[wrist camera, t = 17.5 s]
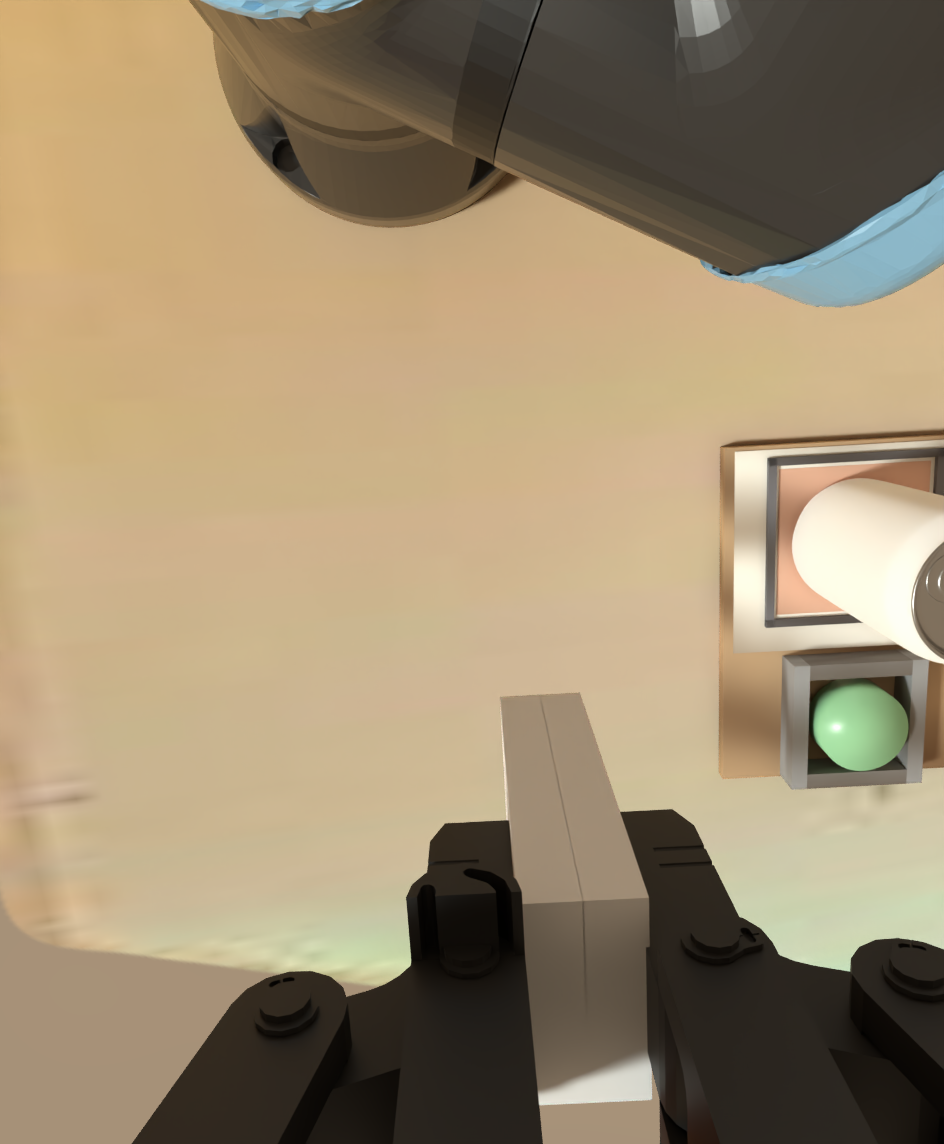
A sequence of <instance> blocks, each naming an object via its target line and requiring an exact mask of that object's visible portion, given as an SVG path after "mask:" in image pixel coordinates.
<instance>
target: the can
mask: <svg viewBox="0 0 944 1144" xmlns="http://www.w3.org/2000/svg"><path fill="white" fill-rule="evenodd" d="M792 554H793V559H794V563H795V566H796V568H797V571H798V573H799V574H800V576H801V578H802V579H803V580H804V582H805V583H806V584H807V585H808V586H809V587H810V588H811V589H812V590H814V591H815V592H816V593H818V594H819V595H820V596H822V597H824V598H825V599H827V600H828V601H830V602H831V603H833V604H834V605H836V606H837V607H839V608H841V609H842V610H844V611H845V612H847V613H849V614H850V615H852V616H853V617H855V618H856V619H858V620H860V621H861V622H863V623H864V624H866V625H868V626H869V627H871V628H872V629H874V630H876V631H877V632H879V633H880V634H882V635H884V636H885V637H887V638H889V639H890V640H892V641H893V642H895V643H897V644H898V645H900V646H902V647H903V648H905V649H907V650H908V651H910V652H912V653H914V654H916V655H918V656H920V657H922V658H925V659H927V660H930V661H933V662H937V663H942V664H944V496H942V495H938V494H934V493H930V492H926V491H922V490H918V489H914V488H910V487H906V486H902V485H898V484H893V483H889V482H885V481H880V480H875V479H868V478H855V479H848V480H844V481H841V482H838V483H835V484H833V485H831V486H829V487H827V488H825V489H824V490H822V491H821V492H819V493H818V494H817V495H815V496H814V497H813V498H812V499H811V500H810V501H809V502H808V504H807V505H806V506H805V508H804V509H803V511H802V513H801V515H800V517H799V519H798V521H797V524H796V527H795V530H794V534H793V539H792Z"/></svg>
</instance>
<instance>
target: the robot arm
mask: <svg viewBox="0 0 944 1144" xmlns="http://www.w3.org/2000/svg"><path fill="white" fill-rule="evenodd" d="M189 1H190V3H191V4H192V5H193V6H194V8H195V9H196V10H197V12H198V13H199V14H200V16H201V17H202V18H203V19H204V21H205V22H206V23H207V25H208V26H209V27H210V29H211V30H212V31H213V40H214V50H215V57H216V63H217V68H218V73H219V77H220V80H221V84H222V87H223V90H224V93H225V96H226V99H227V101H228V104H229V107H230V109H231V111H232V113H233V116H234V118H235V120H236V122H237V124H238V126H239V127H240V129H241V131H242V133H243V134H244V136H245V138H246V139H247V141H248V142H249V144H250V145H251V147H252V148H253V149H254V151H255V152H256V154H257V155H258V156H259V157H260V158H261V160H262V161H263V162H264V163H265V164H266V165H267V166H268V167H269V168H270V169H271V171H272V172H273V173H274V174H275V175H276V176H277V177H278V178H279V179H280V180H281V181H282V182H283V183H284V184H285V185H286V186H288V187H289V188H290V189H291V190H292V191H293V192H295V193H296V194H297V195H298V196H300V197H301V198H303V199H304V200H305V201H307V202H308V203H310V204H312V205H313V206H315V207H317V208H319V209H320V210H322V211H324V212H326V213H328V214H331V215H333V216H335V217H338V218H341V219H343V220H347V221H350V222H353V223H357V224H362V225H367V226H374V227H388V228H392V227H409V226H416V225H421V224H426V223H430V222H433V221H437V220H439V219H442V218H445V217H448V216H450V215H452V214H454V213H457V212H458V211H460V210H462V209H464V208H466V207H468V206H469V205H471V204H472V203H474V202H475V201H477V200H478V199H480V198H481V197H482V196H484V195H485V194H486V193H488V192H489V191H490V190H491V189H492V188H493V187H494V186H495V185H497V183H498V182H499V181H500V180H501V179H502V178H503V177H504V176H505V175H506V174H507V173H510V174H513V175H515V176H517V177H519V178H521V179H524V180H526V181H528V182H530V183H532V184H535V185H537V186H539V187H541V188H543V189H546V190H548V191H550V192H552V193H554V194H557V195H559V196H561V197H563V198H565V199H568V200H570V201H572V202H574V203H577V204H579V205H581V206H583V207H585V208H588V209H590V210H592V211H594V212H596V213H599V214H601V215H603V216H605V217H607V218H610V219H612V220H614V221H616V222H618V223H621V224H623V225H625V226H627V227H629V228H632V229H634V230H636V231H638V232H640V233H643V234H645V235H647V236H649V237H652V238H654V239H656V240H658V241H660V242H663V243H665V244H667V245H669V246H671V247H674V248H676V249H678V250H680V251H682V252H685V253H687V254H689V255H691V256H693V257H696V258H698V259H700V261H701V264H702V265H703V267H704V268H705V269H707V270H708V271H709V272H711V273H712V274H714V275H716V276H718V277H720V278H722V279H725V280H728V281H731V280H734V281H737V282H740V283H753V284H755V285H758V286H760V287H763V288H765V289H768V290H770V291H773V292H775V293H778V294H780V295H783V296H785V297H788V298H790V299H793V300H795V301H798V302H801V303H804V304H807V305H811V306H816V307H818V306H824V307H845V306H856V305H861V304H864V303H867V302H871V301H874V300H877V299H880V298H883V297H885V296H888V295H890V294H892V293H895V292H897V291H899V290H901V289H903V288H905V287H907V286H909V285H911V284H912V283H914V282H916V281H918V280H919V279H921V278H923V277H924V276H926V275H928V274H929V273H931V272H933V271H934V270H935V269H937V268H938V267H940V266H941V265H943V264H944V0H189ZM500 707H501V725H502V744H503V763H504V781H505V800H506V818H507V820H505V821H485V822H466V823H447V824H444V826H443V827H442V828H441V829H440V830H439V832H438V833H437V834H436V835H435V836H434V838H433V839H432V840H431V841H430V849H429V859H428V870H427V873H426V874H424V875H423V876H422V877H421V878H420V879H418V880H417V881H416V882H415V883H413V884H412V886H411V888H410V890H409V893H408V895H407V897H406V901H407V913H408V925H409V937H410V949H411V966H410V967H409V968H408V969H406V970H405V971H404V972H403V973H402V974H401V975H400V976H398V977H397V978H395V979H393V980H392V981H390V982H388V983H387V984H385V985H382V986H379V987H377V988H374V989H372V990H369V991H366V992H362V993H359V994H355V995H352V996H348V997H346V995H345V992H344V989H343V987H342V986H341V985H340V984H339V983H337V982H336V981H335V980H334V979H333V978H331V977H330V976H326V975H323V974H319V973H316V972H312V971H301V972H287V973H283V974H280V975H276V976H272V977H269V978H266V979H264V980H263V981H261V982H259V983H257V984H255V985H254V986H252V987H250V988H248V989H247V990H245V991H244V992H243V993H242V994H241V995H240V996H239V997H238V999H236V1000H235V1001H234V1002H233V1003H232V1004H231V1006H230V1007H229V1009H228V1010H227V1012H226V1013H225V1014H224V1016H223V1017H222V1018H221V1020H220V1021H219V1023H218V1024H217V1025H216V1027H215V1028H214V1030H213V1031H212V1033H211V1034H210V1035H209V1037H208V1038H207V1040H206V1041H205V1042H204V1044H203V1045H202V1046H201V1048H200V1049H199V1051H198V1052H197V1053H196V1055H195V1056H194V1058H193V1059H192V1060H191V1062H190V1063H189V1065H188V1066H187V1067H186V1069H185V1070H184V1071H183V1073H182V1074H181V1076H180V1077H179V1079H178V1080H177V1081H176V1083H175V1084H174V1086H173V1087H172V1088H171V1090H170V1091H169V1092H168V1094H167V1095H166V1097H165V1098H164V1099H163V1101H162V1102H161V1104H160V1105H159V1107H158V1108H157V1109H156V1111H155V1112H154V1113H153V1115H152V1116H151V1118H150V1119H149V1120H148V1122H147V1123H146V1125H145V1126H144V1127H143V1129H142V1130H141V1132H140V1133H139V1134H138V1136H137V1137H136V1139H135V1140H134V1141H133V1143H132V1144H543V1143H542V1142H543V1141H542V1131H541V1121H540V1109H539V1105H552V1104H574V1103H596V1102H616V1101H638V1100H652V1071H653V1075H654V1079H655V1083H656V1087H657V1091H658V1094H659V1098H660V1144H944V950H943V949H941V948H938V947H935V946H932V945H930V944H927V943H924V942H919V941H914V940H908V939H900V938H894V939H881V940H874V941H872V942H870V943H867V944H865V945H863V946H860V947H859V948H858V949H857V951H856V952H855V954H854V955H853V956H852V958H851V968H850V972H848V971H842V970H836V969H830V968H824V967H818V966H813V965H808V964H804V963H800V962H796V961H793V960H790V959H788V958H785V957H782V956H780V955H779V954H778V952H777V950H776V948H775V946H774V945H773V943H772V941H771V940H770V939H769V938H768V937H767V935H766V934H765V933H764V932H763V931H762V930H761V929H760V928H759V927H757V926H755V925H754V924H752V923H750V922H749V921H747V920H745V919H744V918H740V917H739V916H738V914H737V912H736V910H735V907H734V905H733V903H732V901H731V899H730V897H729V895H728V893H727V891H726V889H725V887H724V885H723V883H722V881H721V879H720V877H719V875H718V873H717V871H716V869H715V867H714V865H712V861H711V859H710V857H709V855H708V853H707V851H706V849H704V845H703V843H702V841H701V839H700V837H699V834H698V832H697V830H696V828H695V826H694V825H693V824H691V823H690V822H689V821H687V820H686V819H685V818H683V817H682V816H681V815H679V814H678V813H677V812H675V811H674V810H673V809H669V810H650V811H631V812H620V810H619V808H618V805H617V802H616V799H615V796H614V793H613V790H612V787H611V784H610V781H609V778H608V775H607V772H606V769H605V766H604V763H603V760H602V757H601V754H600V751H599V748H598V745H597V742H596V739H595V736H594V733H593V731H592V728H591V725H590V722H589V719H588V716H587V713H586V710H585V707H584V704H583V701H582V698H581V695H580V693H565V694H546V695H527V696H509V697H500ZM651 1067H652V1070H651Z"/></svg>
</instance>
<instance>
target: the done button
mask: <svg viewBox="0 0 944 1144" xmlns="http://www.w3.org/2000/svg"><path fill="white" fill-rule="evenodd" d="M809 732H810V735H811V736H812V738H813V739H814V741H815V742H816V743H817V744H818V745H819V746H820V747H821V748H822V749H823V751H824V752H825V753H826V754H827V755H828V756H829V757H830V758H831V759H832V760H833V761H834V762H835V763H837V764H838V765H840V766H842V767H844V768H846V769H850V770H855V771H867V770H872V769H876V768H879V767H881V766H883V765H885V764H887V763H888V762H890V761H891V760H892V759H893V758H894V757H895V756H896V755H897V754H898V753H899V752H900V751H901V749H902V747H903V746H904V744H905V741H906V739H907V735H908V718H907V715H906V712H905V710H904V708H903V707H902V705H901V704H900V703H899V702H898V701H897V700H896V699H895V698H893V697H892V696H891V695H890V694H888V693H887V692H886V691H884V690H883V689H882V688H880V687H879V686H878V685H876V684H875V683H873V682H872V681H870V680H867V679H864V678H851V679H837V680H834V681H832V682H830V683H828V684H827V685H825V686H824V687H823V688H822V689H821V690H819V692H818V693H817V694H816V695H815V696H814V698H813V700H812V701H811V703H810V706H809Z"/></svg>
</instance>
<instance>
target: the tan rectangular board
mask: <svg viewBox="0 0 944 1144" xmlns="http://www.w3.org/2000/svg"><path fill="white" fill-rule="evenodd" d="M855 478H868V479H875V480H880V481H885V482H889V483H893V484H898V485H902V486H906V487H910V488H914V489H918V490H922V491H926V492H930V493H934V494H938V495H942V496H944V434H937V435H919V436H902V437H885V438H868V439H850V440H833V441H816V442H799V443H781V444H764V445H747V446H729V447H720V644H719V773H720V775H721V777H722V778H723V779H731V778H750V777H769V776H782V778H783V779H784V780H785V782H786V783H787V784H788V786H789V787H790V788H791V789H811V788H830V787H849V786H869V785H888V784H907V783H922V768H941V767H944V664H942V663H937V662H933V661H930V660H927V659H925V658H922V657H920V656H918V655H916V654H914V653H912V652H910V651H908V650H907V649H905V648H903V647H902V646H900V645H898V644H897V643H895V642H893V641H892V640H890V639H889V638H887V637H885V636H884V635H882V634H880V633H879V632H877V631H876V630H874V629H872V628H871V627H869V626H868V625H866V624H864V623H863V622H861V621H860V620H858V619H856V618H855V617H853V616H852V615H850V614H849V613H847V612H845V611H844V610H842V609H841V608H839V607H837V606H836V605H834V604H833V603H831V602H830V601H828V600H827V599H825V598H824V597H822V596H820V595H819V594H818V593H816V592H815V591H814V590H812V589H811V588H810V587H809V586H808V585H807V584H806V583H805V582H804V580H803V579H802V578H801V576H800V574H799V573H798V571H797V568H796V566H795V563H794V559H793V554H792V539H793V534H794V530H795V527H796V524H797V521H798V519H799V517H800V515H801V513H802V511H803V509H804V508H805V506H806V505H807V504H808V502H809V501H810V500H811V499H812V498H813V497H814V496H815V495H817V494H818V493H819V492H821V491H822V490H824V489H825V488H827V487H829V486H831V485H833V484H835V483H838V482H841V481H844V480H848V479H855ZM851 678H864V679H867V680H870V681H872V682H873V683H875V684H876V685H878V686H879V687H880V688H882V689H883V690H884V691H886V692H887V693H888V694H890V695H891V696H892V697H893V698H895V699H896V700H897V701H898V702H899V703H900V704H901V705H902V707H903V708H904V710H905V712H906V715H907V718H908V735H907V739H906V741H905V744H904V746H903V747H902V749H901V751H900V752H899V753H898V754H897V755H896V756H895V757H894V758H893V759H892V760H891V761H890V762H888V763H887V764H885V765H883V766H881V767H879V768H876V769H872V770H867V771H855V770H850V769H846V768H844V767H842V766H840V765H838V764H837V763H835V762H834V761H833V760H832V759H831V758H830V757H829V756H828V755H827V754H826V753H825V752H824V751H823V749H822V748H821V747H820V746H819V745H818V744H817V743H816V742H815V741H814V739H813V738H812V736H811V735H810V732H809V706H810V703H811V701H812V700H813V698H814V696H815V695H816V694H817V693H818V692H819V690H821V689H822V688H823V687H824V686H825V685H827V684H828V683H830V682H832V681H834V680H837V679H851Z"/></svg>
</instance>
